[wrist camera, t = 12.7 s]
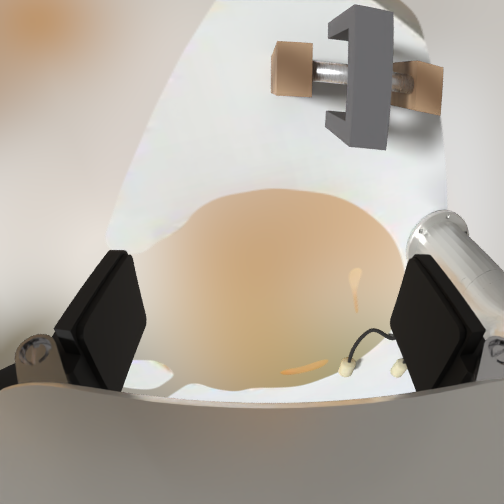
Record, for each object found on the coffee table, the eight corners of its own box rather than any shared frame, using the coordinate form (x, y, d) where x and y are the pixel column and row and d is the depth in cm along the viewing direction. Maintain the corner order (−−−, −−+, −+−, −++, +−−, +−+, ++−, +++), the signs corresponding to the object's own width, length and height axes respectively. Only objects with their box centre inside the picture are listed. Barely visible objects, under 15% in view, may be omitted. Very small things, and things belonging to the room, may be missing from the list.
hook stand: (387, 103, 37) (440, 115, 24) (270, 92, 37) (276, 95, 25) (389, 69, 35) (443, 67, 22) (271, 56, 35) (277, 41, 22)
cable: (358, 315, 56) (362, 327, 53) (427, 319, 57) (434, 330, 54) (334, 369, 64) (336, 381, 61) (398, 369, 64) (402, 380, 61)
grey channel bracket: (353, 129, 35) (385, 150, 25) (325, 126, 35) (349, 146, 26) (357, 27, 28) (393, 12, 19) (328, 23, 28) (354, 4, 19)
